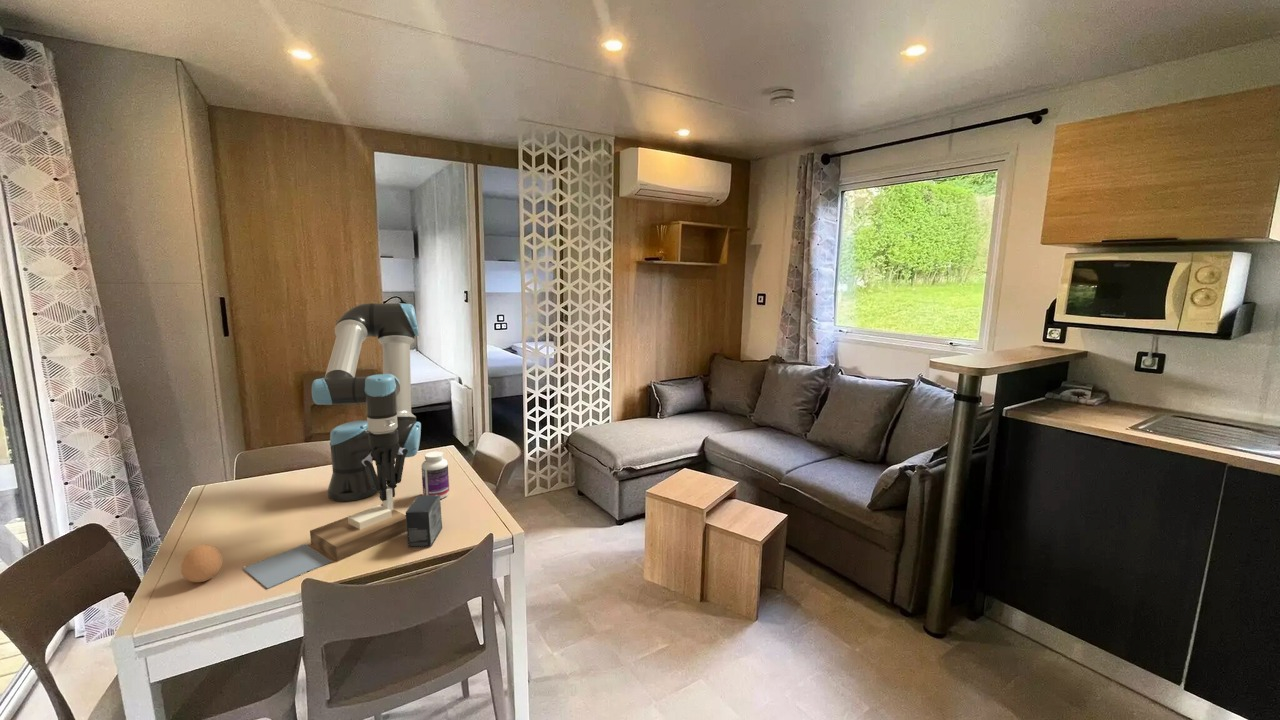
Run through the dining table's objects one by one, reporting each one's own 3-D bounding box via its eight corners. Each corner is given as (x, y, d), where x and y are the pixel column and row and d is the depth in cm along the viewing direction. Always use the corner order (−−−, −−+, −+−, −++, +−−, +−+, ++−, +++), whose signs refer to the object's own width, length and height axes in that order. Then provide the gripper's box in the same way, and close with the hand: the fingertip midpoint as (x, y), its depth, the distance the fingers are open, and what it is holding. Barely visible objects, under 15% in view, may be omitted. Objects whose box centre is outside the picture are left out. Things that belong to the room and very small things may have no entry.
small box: (419, 528, 148) (417, 494, 146) (443, 528, 148) (441, 494, 146) (406, 548, 137) (404, 511, 135) (431, 547, 138) (429, 510, 136)
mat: (242, 568, 126) (242, 567, 126) (305, 544, 137) (305, 543, 137) (267, 589, 118) (267, 588, 118) (331, 562, 130) (331, 560, 130)
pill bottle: (454, 493, 171) (453, 451, 169) (437, 503, 164) (435, 460, 161) (434, 489, 174) (432, 448, 172) (417, 499, 166) (415, 456, 164)
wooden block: (311, 544, 138) (309, 530, 137) (383, 516, 154) (382, 504, 153) (337, 561, 130) (336, 546, 129) (410, 530, 146) (409, 517, 146)
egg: (212, 587, 119) (208, 553, 117) (175, 590, 117) (170, 556, 116) (230, 569, 126) (226, 537, 124) (195, 572, 124) (191, 539, 123)
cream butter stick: (348, 523, 141) (347, 516, 141) (380, 511, 149) (379, 504, 148) (360, 529, 138) (359, 522, 138) (391, 517, 146) (391, 510, 145)
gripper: (367, 438, 136) (373, 521, 140) (412, 427, 147) (416, 504, 151) (352, 433, 140) (358, 514, 144) (397, 422, 151) (401, 498, 155)
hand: (388, 509), depth 148 cm, fingers closed
